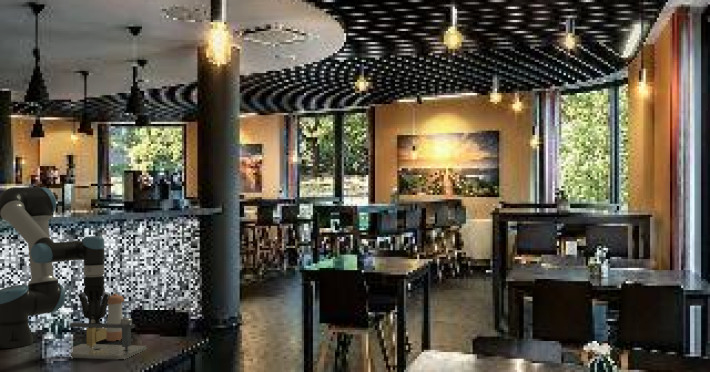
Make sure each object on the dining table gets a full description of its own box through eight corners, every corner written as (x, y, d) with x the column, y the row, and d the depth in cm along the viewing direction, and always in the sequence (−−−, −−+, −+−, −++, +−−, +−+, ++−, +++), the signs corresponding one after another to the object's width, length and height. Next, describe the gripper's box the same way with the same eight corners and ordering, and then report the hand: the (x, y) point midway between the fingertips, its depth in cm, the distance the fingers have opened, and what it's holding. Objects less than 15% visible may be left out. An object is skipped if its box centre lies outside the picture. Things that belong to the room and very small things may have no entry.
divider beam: (68, 348, 256) (68, 318, 257) (74, 345, 260) (74, 316, 261) (131, 350, 251) (130, 320, 252) (136, 348, 255) (136, 318, 255)
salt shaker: (120, 336, 286) (120, 291, 287) (127, 339, 281) (126, 293, 281) (103, 339, 282) (103, 293, 282) (109, 342, 276) (109, 295, 276)
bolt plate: (56, 357, 251) (56, 352, 251) (81, 347, 266) (81, 343, 266) (124, 359, 245) (124, 355, 245) (146, 349, 261) (146, 345, 261)
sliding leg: (85, 348, 256) (85, 328, 256) (99, 343, 265) (99, 323, 265) (93, 348, 255) (92, 328, 255) (106, 343, 264) (106, 323, 264)
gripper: (73, 276, 261) (74, 337, 261) (103, 277, 258) (104, 338, 258) (84, 274, 268) (85, 333, 268) (114, 274, 266) (115, 334, 265)
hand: (94, 336), depth 263 cm, fingers closed
